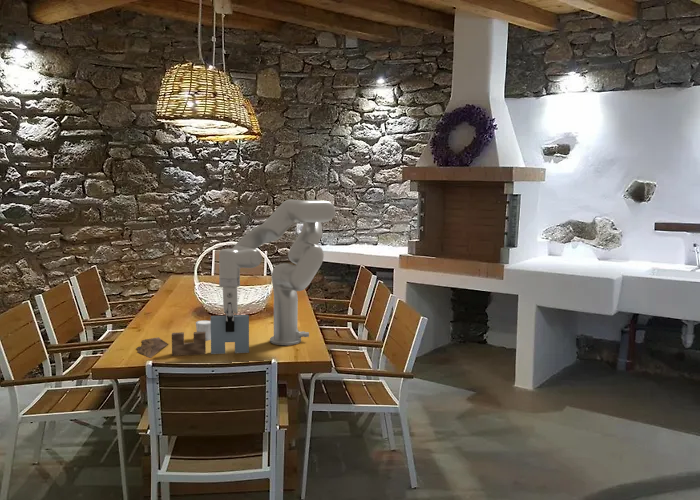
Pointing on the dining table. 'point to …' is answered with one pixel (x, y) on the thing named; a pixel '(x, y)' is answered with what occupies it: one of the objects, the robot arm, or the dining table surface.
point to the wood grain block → (188, 344)
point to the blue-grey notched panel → (230, 334)
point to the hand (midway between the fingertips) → (229, 329)
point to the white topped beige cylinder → (204, 328)
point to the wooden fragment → (151, 346)
